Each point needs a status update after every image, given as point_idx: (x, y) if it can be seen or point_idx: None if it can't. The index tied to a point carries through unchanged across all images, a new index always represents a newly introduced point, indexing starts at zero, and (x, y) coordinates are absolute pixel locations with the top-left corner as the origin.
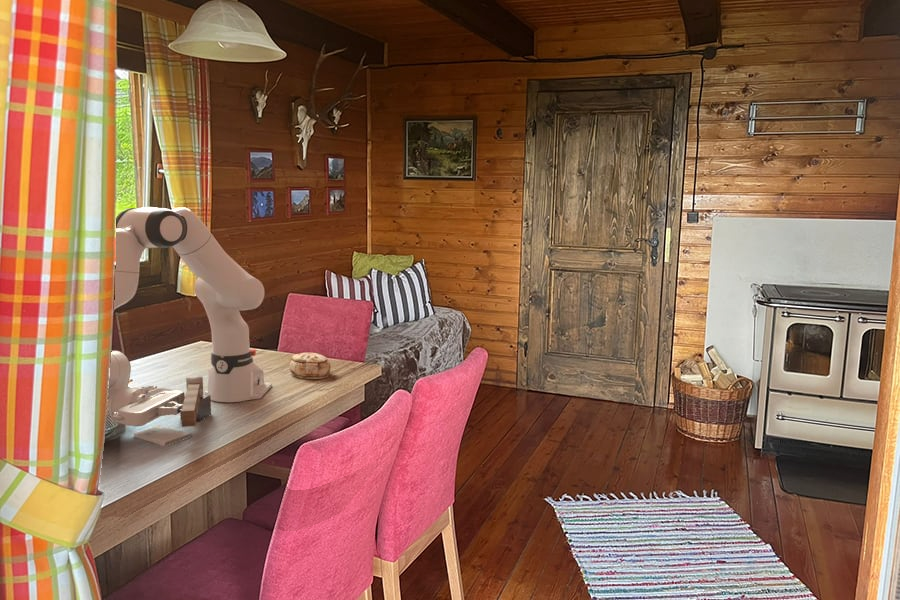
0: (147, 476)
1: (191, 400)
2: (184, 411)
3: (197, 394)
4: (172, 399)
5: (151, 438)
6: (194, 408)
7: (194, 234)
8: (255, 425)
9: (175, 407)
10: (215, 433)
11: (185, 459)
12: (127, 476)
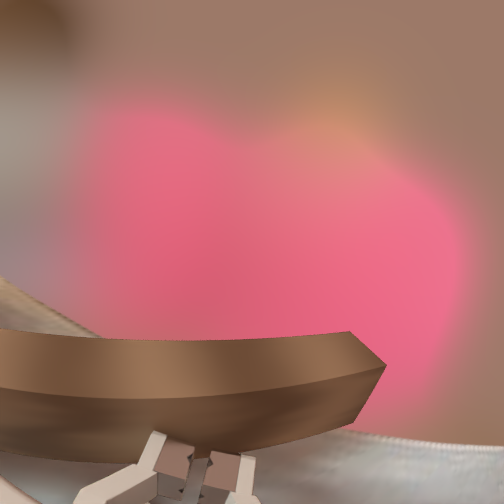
0: (470, 468)
1: (180, 360)
2: (376, 357)
3: (38, 334)
4: (33, 499)
5: None
6: (325, 334)
7: None
8: (58, 331)
9: (234, 465)
10: None
11: (358, 452)
12: (492, 500)
